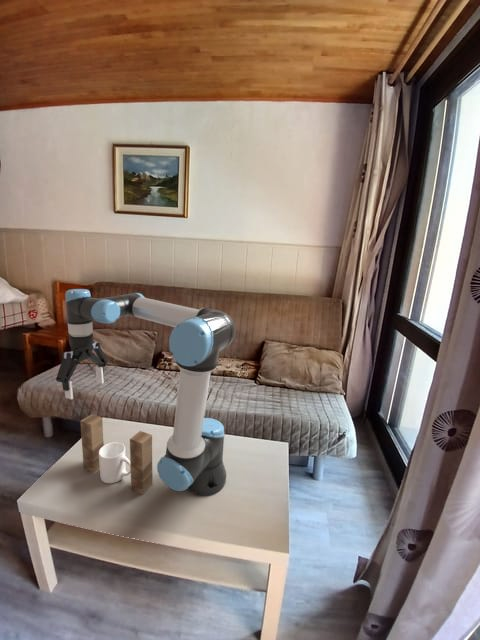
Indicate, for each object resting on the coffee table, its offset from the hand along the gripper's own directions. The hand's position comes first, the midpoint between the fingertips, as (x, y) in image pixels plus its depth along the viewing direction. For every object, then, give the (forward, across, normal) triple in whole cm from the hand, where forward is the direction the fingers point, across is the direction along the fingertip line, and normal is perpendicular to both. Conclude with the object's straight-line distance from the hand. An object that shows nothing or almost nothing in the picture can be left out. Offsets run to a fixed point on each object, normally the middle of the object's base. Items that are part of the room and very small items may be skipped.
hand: (85, 390), depth 111 cm
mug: (+30, +3, +15) cm, 33 cm away
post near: (+30, +3, +26) cm, 40 cm away
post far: (+29, +2, +4) cm, 30 cm away
